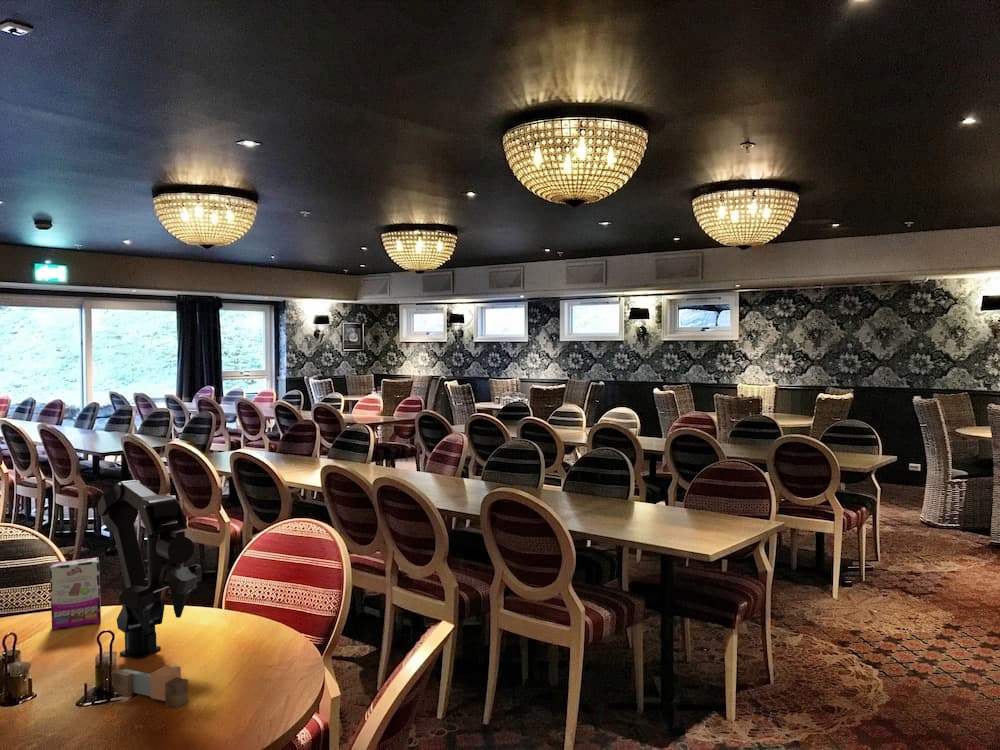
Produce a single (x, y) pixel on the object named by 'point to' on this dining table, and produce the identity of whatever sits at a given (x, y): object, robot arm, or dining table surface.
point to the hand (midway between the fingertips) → (162, 624)
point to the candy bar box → (75, 593)
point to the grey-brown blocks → (173, 689)
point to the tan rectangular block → (162, 681)
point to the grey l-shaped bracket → (141, 682)
